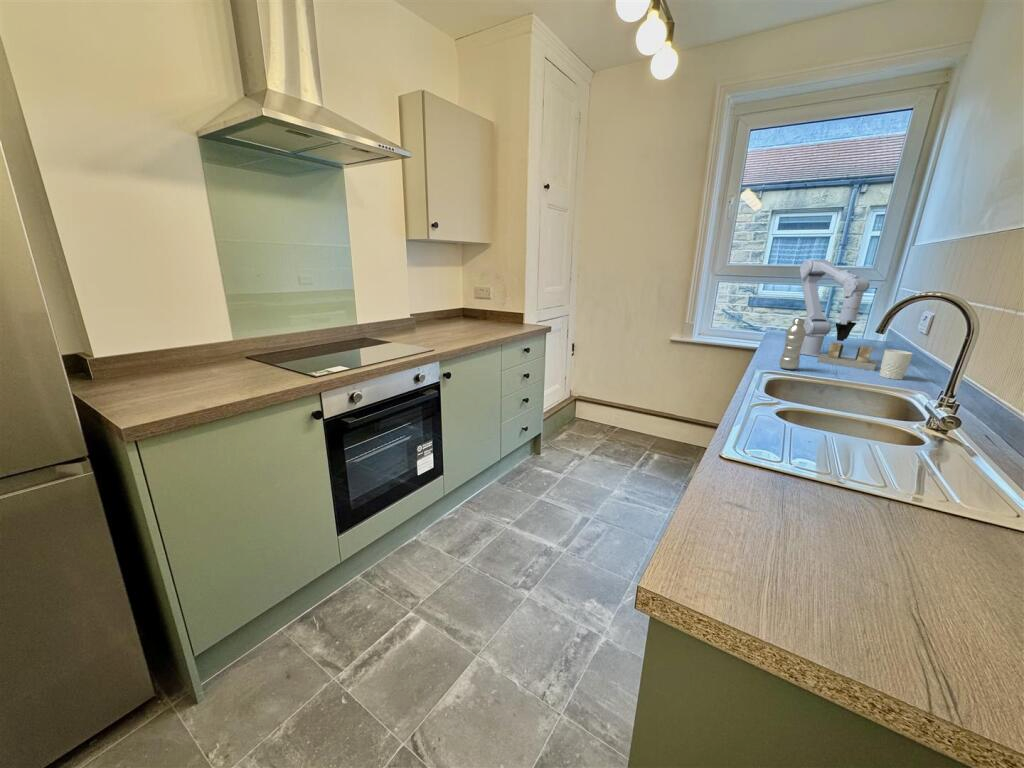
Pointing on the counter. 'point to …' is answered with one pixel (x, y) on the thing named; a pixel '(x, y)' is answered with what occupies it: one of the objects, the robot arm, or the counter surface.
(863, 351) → the tan upright block
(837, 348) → the loose finger
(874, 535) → the counter surface
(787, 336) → the plastic bottle
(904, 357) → the white cup
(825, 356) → the rail
